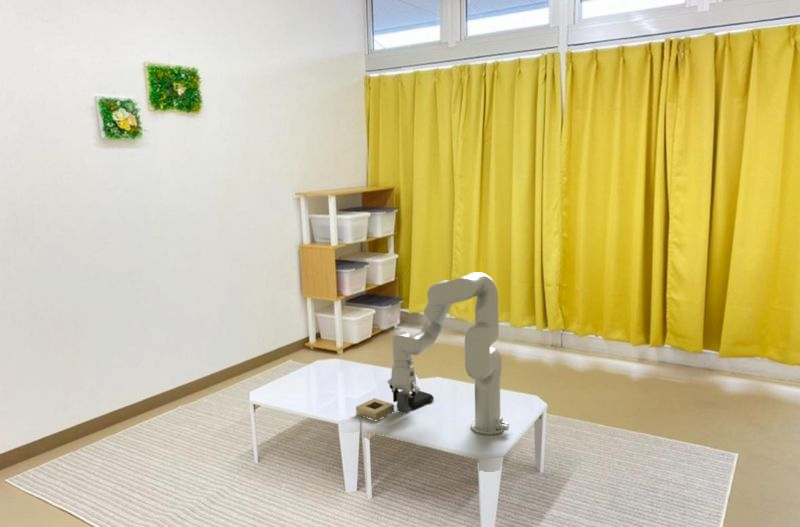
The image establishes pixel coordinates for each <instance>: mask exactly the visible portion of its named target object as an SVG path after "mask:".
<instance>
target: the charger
mask: <svg viewBox="0 0 800 527" xmlns="http://www.w3.org/2000/svg"><path fill="white" fill-rule="evenodd" d="M408 398H409V395H408V392H407V391H404V390H401V391H399V392H398V393H397V401H396V404H397V405H396V406H397V408H396V409H397V411H399V412H398V413H400V412H402V413H401V414H403V413H406V414H407V412H408V413H410V412H411V411H412V409H411V407H409V406H408ZM409 411H410V412H409Z"/></svg>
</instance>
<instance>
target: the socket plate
mask: <svg viewBox="0 0 800 527" xmlns="http://www.w3.org/2000/svg"><path fill="white" fill-rule="evenodd" d="M355 410H356V412H355V413H356V416H359V417H361V416H365V417H368V418H371V419H373V420H378V419H380V418H382V417H384V416H386V415H388V414H390V413H392V412H394V413H395V405H394V403H392V402H391V403H390V402H388V401H385V400H381V399H377V398H372V399H369V400H368V401H365V402H363V403H361V404H359V405H356V406H355ZM392 414H393V413H392ZM390 415H391V414H390ZM388 416H389V415H388ZM386 417H387V416H386ZM384 418H385V417H384ZM382 419H383V418H382ZM373 420H372V421H373ZM380 420H381V419H380ZM378 421H379V420H378Z"/></svg>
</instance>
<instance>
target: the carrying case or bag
mask: <svg viewBox="0 0 800 527" xmlns="http://www.w3.org/2000/svg"><path fill="white" fill-rule="evenodd" d="M414 399H415V404H414V405H413V406H411V410H414V409H417V408H419V407H421V406H422V407H423V405H426V404H429V403H431V402H433V401H434V399H435V398H434V395H432V394H431V393H427V392H425V391H422V390H419V392H418V393H417V394H416V396H414Z"/></svg>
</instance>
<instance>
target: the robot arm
mask: <svg viewBox="0 0 800 527" xmlns="http://www.w3.org/2000/svg"><path fill="white" fill-rule="evenodd" d="M426 294H427V295H426V298H427V300H428V302H427V304H426V305H425V308H424V310H423V314H424V316H425V317H426V320H425V323H424V325H423V326H422V328H421V330H420V331H419V332H417V333H415V334H414V335H411V334H410V333H409V332H406V331H398V332H395V333H394V334H393V335H392V360H393V361H392V362H393V363H392V368H391V375H390V376H391V378H390V379H389V380H387V383H388V385H389V388H390V389H391V392H392V398H393V399H392V401H393V403H397V393H398V392H400V391H399V390H401V391H403V390H404V391H407V392H408V395H409V398H408V406H409V407H411V406H413V405H414V404H415V399H414V396H416V394H417V393H418V392H419V391H421V390H420V389H421V388H420V387H419V386H418V385H417V379H416V377H417V376H416V371H415V368H414V361H413V359H412V358H413V357H412V356H418V355H421V354H423V353H424V352H425V351H427V350H428V349H430V348H432V346H433V345H435V344H436V341H437V339H438V338H439V336H440V334H441V331H442V329H443V326H444V320H445V318H446V316H447V314H448V312H449V311H450V309H451V307H452V306H453V304H456V303H460V302H464V301H467V300H470V299H473V298H475V297H476V301H475V306H474V312H475V313H474V314H475V315H474V316H475V317H474V324H473V325H471V326H470V327H469V328H468V329H467V331H466V333H465V335H464V336H465V337H464V368H465V371H466V373H467V375H468V376H469V377H470V378H471V379H472V380H474V419H475V420H473V421H472V422H471V424H470V428H471V429H472V431H473V432H475V433H477V434H481V435H486V436H487V435H488V436H489V435H490V436H491V435H492V436H493V435H498V434H500V433H502V432H503V431H506V432H508V431H509V428H510V427H509V426H510V424H509V423H508V422H505V421H504V417H503V416H501V375H502V374H501V373H502V366H503V365H502V364H503V360H502V355H501V353H500V351H499V350H498V348H495V347H493V346H492V345H493V344H495V342H496V341H497V340H498V339H499V336H500V334H499V333H500V332H499V329H500V328H499V291H498V287H497V285H496V283H495V282H494V280H493V279H492V278H491V277H490V276H489V275H488V274H486V273H484V272H480V271H475V272H470V273H468V274H465V275H462V276H461V277H457V278H454V279H451V280H449V279H446V280H445V279H444V280H440V281H438V282H435V283H434V284H432V285H431V286H430V287H429V288H428V290H427V293H426Z"/></svg>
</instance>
